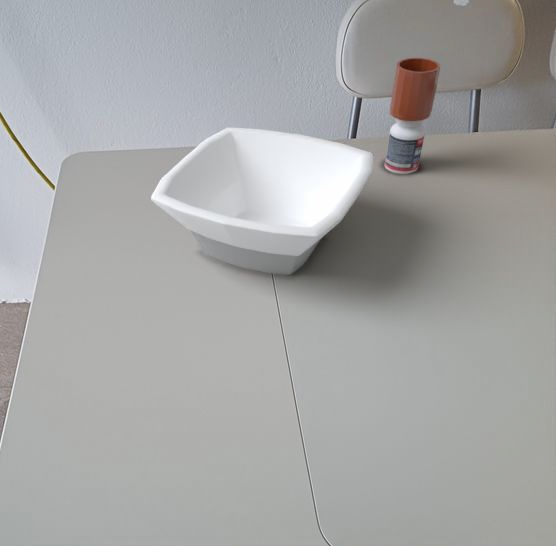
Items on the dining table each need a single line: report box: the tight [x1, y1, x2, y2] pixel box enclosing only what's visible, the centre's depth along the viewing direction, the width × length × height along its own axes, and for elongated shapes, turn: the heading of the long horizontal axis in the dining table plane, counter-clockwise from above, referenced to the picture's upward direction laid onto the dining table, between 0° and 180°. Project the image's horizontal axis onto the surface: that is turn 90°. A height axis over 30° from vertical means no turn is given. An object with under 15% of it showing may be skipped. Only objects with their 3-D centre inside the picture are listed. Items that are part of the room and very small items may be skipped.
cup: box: [389, 57, 441, 121], centre depth 95 cm, size 6×6×7 cm
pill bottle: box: [384, 118, 426, 175], centre depth 100 cm, size 5×5×9 cm
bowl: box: [150, 127, 375, 276], centre depth 86 cm, size 24×25×10 cm
